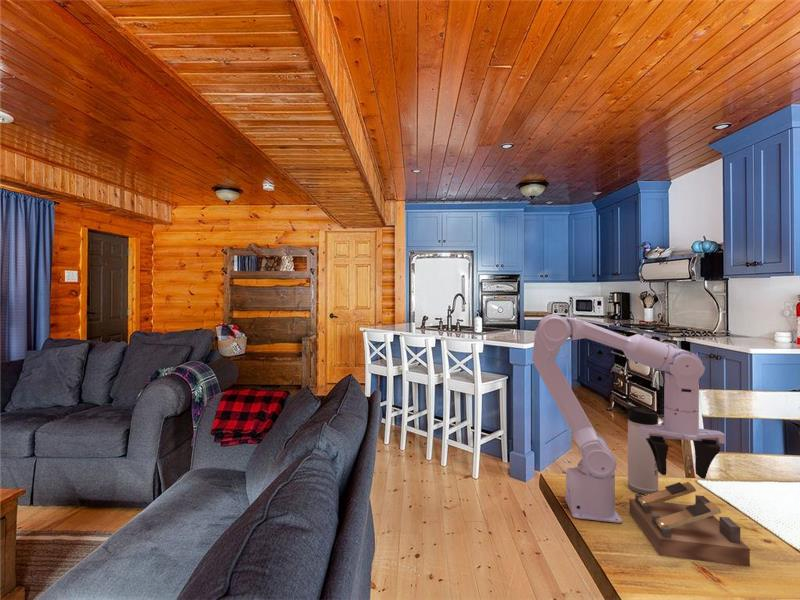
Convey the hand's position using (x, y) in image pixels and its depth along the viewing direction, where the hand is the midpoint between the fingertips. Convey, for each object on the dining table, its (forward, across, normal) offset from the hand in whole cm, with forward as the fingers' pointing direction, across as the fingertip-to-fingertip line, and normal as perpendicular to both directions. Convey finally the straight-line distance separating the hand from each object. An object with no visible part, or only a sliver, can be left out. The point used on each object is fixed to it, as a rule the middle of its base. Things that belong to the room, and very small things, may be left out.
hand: (681, 474), depth 78 cm
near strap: (+5, -2, -8) cm, 10 cm away
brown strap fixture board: (+10, -2, -4) cm, 11 cm away
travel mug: (+11, -2, +15) cm, 18 cm away
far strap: (+5, -2, 0) cm, 5 cm away
